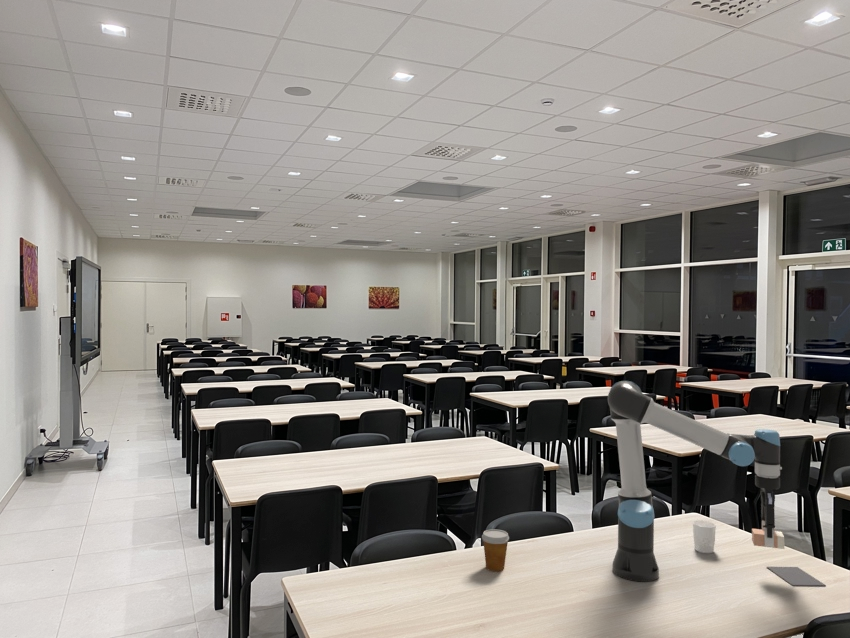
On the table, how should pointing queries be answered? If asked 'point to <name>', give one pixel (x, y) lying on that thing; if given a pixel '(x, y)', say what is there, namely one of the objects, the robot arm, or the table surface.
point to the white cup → (704, 536)
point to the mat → (795, 576)
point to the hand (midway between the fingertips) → (767, 543)
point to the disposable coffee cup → (495, 548)
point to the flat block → (759, 538)
